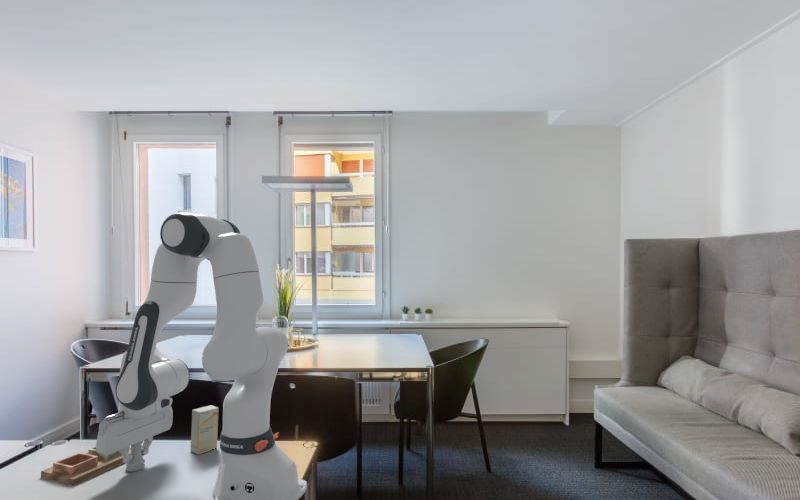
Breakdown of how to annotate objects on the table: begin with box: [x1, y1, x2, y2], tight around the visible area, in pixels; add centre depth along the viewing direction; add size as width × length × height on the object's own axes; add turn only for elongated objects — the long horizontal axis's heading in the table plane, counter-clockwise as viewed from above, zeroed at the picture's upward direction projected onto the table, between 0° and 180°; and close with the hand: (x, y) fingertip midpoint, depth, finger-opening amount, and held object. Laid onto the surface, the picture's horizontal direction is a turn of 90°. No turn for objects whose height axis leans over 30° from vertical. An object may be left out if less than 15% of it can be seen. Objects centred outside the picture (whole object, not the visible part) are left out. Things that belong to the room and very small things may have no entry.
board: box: [40, 446, 131, 486], centre depth 117 cm, size 12×18×4 cm, turn 161°
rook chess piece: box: [125, 440, 146, 473], centre depth 116 cm, size 4×4×8 cm
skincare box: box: [190, 404, 219, 455], centre depth 128 cm, size 6×4×12 cm
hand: (135, 458), depth 116 cm, fingers closed on rook chess piece, 3 cm apart
